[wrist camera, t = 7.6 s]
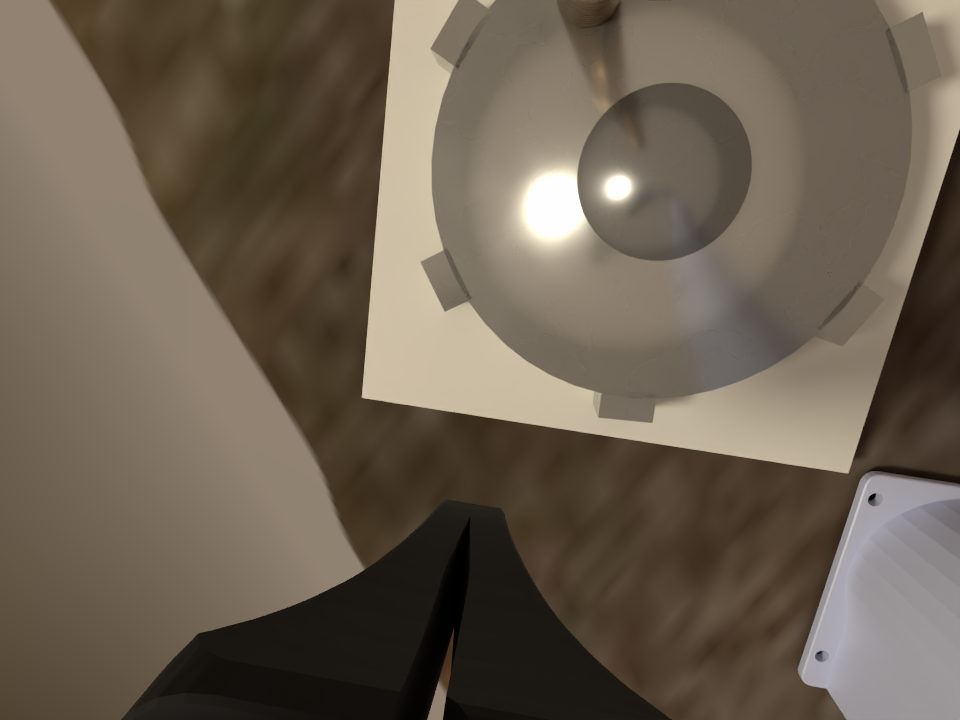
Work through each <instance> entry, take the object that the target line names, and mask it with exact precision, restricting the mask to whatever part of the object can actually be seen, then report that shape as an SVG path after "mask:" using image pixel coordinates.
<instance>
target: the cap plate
mask: <svg viewBox="0 0 960 720" xmlns="http://www.w3.org/2000/svg"><path fill="white" fill-rule="evenodd" d="M477 1H478V2H480V3H481V4H483V5H484V6H485V7H487V8H489V7H490V6H491V5H492V4H493V3H494V1H495V0H477ZM874 1H875V2H876V4H877V6H878V8H879V9H880V11H881V13H882V15H883V16H884V18H885V20H886V22H887V23H888V25H889V27H890V28H891V27H893V26H895V25H897V24H899V23H901V22H903V21H905V20H907V19H909V18H911V17H913V16H915V15H917V14H919V13H921V12H923V15H924V18H925V22H926V25H927V28H928V32H929V35H930V39H931V42H932V45H933V49H934V52H935V56H936V59H937V62H938V66H939V69H940V73H941V77H939V78H937V79H934V80H932V81H930V82H928V83H926V84H924V85H922V86H920V87H918V88H916V89H913V90H911V91H909V92H910V103H911V115H912V143H911V160H910V166H909V171H908V177H907V182H906V188H905V193H904V196H903V199H902V202H901V206H900V209H899V212H898V215H897V218H896V221H895V224H894V227H893V229H892V231H891V233H890V235H889V238H888V240H887V242H886V244H885V246H884V249H883V251H882V253H881V255H880V257H879V258H878V260H877V262H876V263H875V265H874V267H873V268H872V270H871V271H870V273H869V275H868V276H867V278H866V280H865V281H864V283H863V284H864V285H866V286H867V287H869V288H870V289H871V290H873V291H874V292H875V293H877V294H878V295H879V296H881V297H882V298H884V299H885V300H884V301H883V302H882V303H881V305H880V306H879V307H878V308H877V309H876V310H875V311H874V312H873V313H872V315H871V316H870V317H869V318H868V319H867V320H866V321H865V322H864V323H863V324H862V326H861V327H860V328H859V329H858V330H857V331H856V332H855V333H854V334H853V336H852V337H851V338H850V339H849V340H848V341H847V342H846V343H845V344H844V346H843V347H842V346H839V345H836V344H834V343H831V342H828V341H825V340H822V339H819V338H817V337H816V336H814V337H813V338H812V339H811V340H809V341H808V342H807V343H806V344H804V345H803V346H802V347H801V348H799V349H798V350H797V351H795V352H794V353H792V354H791V355H789V356H787V357H786V358H784V359H783V360H781V361H779V362H778V363H776V364H775V365H773V366H771V367H770V368H768V369H766V370H763V371H761V372H759V373H757V374H755V375H753V376H751V377H749V378H747V379H745V380H742V381H739V382H737V383H734V384H731V385H728V386H725V387H722V388H719V389H716V390H712V391H707V392H703V393H698V394H693V395H688V396H681V397H670V398H659V399H656V404H655V410H654V417H653V423H647V422H637V421H626V420H616V419H606V418H598V416H597V413H596V411H595V408H594V406H593V399H594V392H595V391H591V390H588V389H585V388H581V387H578V386H574V385H572V384H570V383H567V382H565V381H563V380H561V379H558V378H556V377H554V376H551V375H549V374H547V373H546V372H544V371H542V370H541V369H539V368H537V367H536V366H534V365H532V364H531V363H529V362H527V361H526V360H525V359H523V358H522V357H521V356H519V355H518V354H517V353H516V352H514V351H513V350H512V349H511V348H509V347H508V346H507V345H506V344H504V343H503V342H502V341H501V340H500V339H499V338H498V337H497V336H496V334H495V333H494V332H493V331H492V330H491V329H490V328H489V327H488V326H487V325H486V324H485V323H484V322H483V320H482V319H481V318H480V316H479V315H478V314H477V312H476V311H475V310H474V308H473V307H472V306H471V304H470V303H469V302H468V301H467V302H465V303H463V304H460V305H458V306H456V307H454V308H452V309H450V310H448V311H446V312H444V309H443V307H442V305H441V303H440V301H439V299H438V297H437V295H436V293H435V291H434V289H433V287H432V285H431V283H430V281H429V279H428V277H427V275H426V273H425V271H424V269H423V267H422V265H421V263H420V262H421V261H423V260H425V259H427V258H429V257H431V256H433V255H435V254H437V253H439V252H441V251H443V246H442V243H441V239H440V235H439V231H438V228H437V224H436V219H435V211H434V204H433V197H432V166H431V160H432V151H433V142H434V133H435V127H436V123H437V118H438V114H439V110H440V106H441V101H442V97H443V95H444V92H445V89H446V87H447V84H448V81H449V78H450V76H451V73H449V72H448V71H447V70H445V69H444V68H442V67H441V66H440V65H438V63H437V61H436V59H435V57H434V55H433V53H432V51H431V49H430V48H431V47H432V45H433V43H434V41H435V40H436V38H437V36H438V35H439V33H440V31H441V29H442V28H443V26H444V24H445V22H446V21H447V19H448V17H449V16H450V14H451V12H452V10H453V9H454V7H455V5H456V3H457V2H458V0H395V6H394V18H393V30H392V42H391V54H390V66H389V78H388V90H387V102H386V114H385V126H384V138H383V150H382V163H381V175H380V187H379V199H378V211H377V223H376V235H375V247H374V259H373V271H372V283H371V295H370V307H369V319H368V331H367V343H366V355H365V367H364V379H363V391H362V398H367V399H373V400H380V401H386V402H392V403H399V404H405V405H412V406H418V407H425V408H431V409H437V410H444V411H450V412H457V413H463V414H470V415H476V416H482V417H489V418H495V419H502V420H508V421H515V422H521V423H527V424H534V425H540V426H547V427H553V428H560V429H566V430H572V431H579V432H585V433H592V434H598V435H604V436H611V437H617V438H624V439H630V440H637V441H643V442H649V443H656V444H662V445H669V446H675V447H682V448H688V449H694V450H701V451H707V452H714V453H720V454H727V455H733V456H739V457H746V458H752V459H759V460H765V461H772V462H778V463H784V464H791V465H797V466H804V467H810V468H816V469H823V470H829V471H836V472H842V473H849V470H850V466H851V463H852V460H853V457H854V454H855V451H856V448H857V445H858V442H859V439H860V436H861V432H862V429H863V426H864V423H865V420H866V417H867V414H868V411H869V408H870V405H871V402H872V398H873V395H874V392H875V389H876V386H877V383H878V380H879V377H880V374H881V371H882V368H883V364H884V361H885V358H886V355H887V352H888V349H889V346H890V343H891V340H892V337H893V334H894V330H895V327H896V324H897V321H898V318H899V315H900V312H901V309H902V306H903V303H904V300H905V296H906V293H907V290H908V287H909V284H910V281H911V278H912V275H913V272H914V269H915V266H916V262H917V259H918V256H919V253H920V250H921V247H922V244H923V241H924V238H925V235H926V232H927V228H928V225H929V222H930V219H931V216H932V213H933V210H934V207H935V204H936V201H937V198H938V194H939V191H940V188H941V185H942V182H943V179H944V176H945V173H946V170H947V167H948V164H949V160H950V157H951V154H952V151H953V148H954V145H955V142H956V139H957V136H958V133H959V130H960V0H874Z"/></svg>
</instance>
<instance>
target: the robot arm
mask: <svg viewBox="0 0 960 720" xmlns="http://www.w3.org/2000/svg"><path fill="white" fill-rule="evenodd" d="M874 493H876V497H875V498H874V499H873V500H871V501H868V498H869V496H870V495H872V494H874ZM453 629H454V638H453V651H452V665H451V676H450V681H449V686H448V691H447V695H446V703H445V709H444V716H443V720H671V719H670V718H669V717H667V716H666V715H665V714H663V713H662V712H661V711H659V710H658V709H657V708H655V707H654V706H652V705H651V704H650V703H648V702H647V701H646V700H644V699H643V698H642V697H640V696H639V695H638V694H636V693H635V692H634V691H632V690H631V689H630V688H628V687H627V686H626V685H625V684H623V683H622V682H621V681H620V680H619V679H618V678H616V677H615V676H614V675H613V674H612V673H611V672H610V671H609V670H607V669H606V668H605V667H604V666H603V665H602V664H601V663H599V662H598V661H597V660H596V659H595V658H594V657H593V656H592V655H591V654H590V653H589V652H588V651H587V650H586V649H585V648H584V647H583V646H582V645H581V644H580V642H579V641H578V640H577V639H576V638H575V637H574V636H573V635H572V634H571V633H570V632H569V631H568V629H567V628H566V627H565V626H564V625H563V624H562V622H561V621H560V620H559V619H558V617H557V616H556V615H555V613H554V612H553V611H552V609H551V608H550V607H549V605H548V604H547V602H546V601H545V599H544V598H543V596H542V595H541V593H540V592H539V590H538V588H537V587H536V585H535V583H534V582H533V580H532V578H531V577H530V575H529V573H528V571H527V569H526V567H525V565H524V563H523V561H522V559H521V557H520V555H519V553H518V551H517V549H516V547H515V544H514V542H513V540H512V537H511V535H510V532H509V529H508V526H507V523H506V519H505V514H504V513H503V511H502V510H501V509H500V508H495V507H489V506H483V505H477V504H470V503H464V502H458V501H452V500H445V501H444V502H442V503H441V504H440V505H439V506H438V507H437V509H436V510H435V511H434V512H433V513H432V514H431V515H430V516H429V517H428V518H427V519H426V520H425V521H424V522H423V523H422V524H421V525H420V526H419V527H418V528H417V529H416V530H415V531H414V532H412V533H411V534H410V535H409V536H408V537H407V538H406V539H405V540H404V541H402V542H401V543H400V544H399V545H398V546H396V547H395V548H394V549H392V550H391V551H390V552H389V553H387V554H386V555H385V556H383V557H382V558H381V559H380V560H378V561H377V562H375V563H374V564H373V565H371V566H370V567H368V568H367V569H365V570H364V571H362V572H361V573H359V574H357V575H356V576H354V577H353V578H351V579H349V580H347V581H345V582H343V583H341V584H339V585H337V586H335V587H333V588H331V589H329V590H327V591H325V592H323V593H321V594H319V595H317V596H315V597H313V598H310V599H308V600H306V601H303V602H301V603H298V604H296V605H293V606H291V607H288V608H285V609H282V610H280V611H277V612H274V613H271V614H268V615H265V616H262V617H259V618H256V619H253V620H249V621H245V622H242V623H238V624H234V625H230V626H227V627H223V628H219V629H216V630H212V631H207V632H203V633H199V634H197V635H196V636H195V638H194V639H193V640H192V641H191V642H190V643H189V644H188V645H187V646H186V647H185V648H184V649H183V650H182V651H181V652H180V653H179V654H178V655H177V656H176V657H175V658H174V659H173V660H172V661H171V662H170V663H169V664H168V665H167V666H166V668H165V669H164V670H163V671H162V672H161V673H160V674H159V675H158V677H157V678H156V679H155V680H154V681H153V683H152V684H151V685H150V686H149V687H148V689H147V690H146V691H145V692H144V693H143V695H142V696H141V697H140V698H139V699H138V700H137V702H136V703H135V704H134V705H133V706H132V708H131V709H130V710H129V711H128V712H127V714H126V715H125V716H124V717H123V718H122V720H427V718H428V715H429V711H430V708H431V705H432V701H433V698H434V694H435V691H436V687H437V684H438V681H439V677H440V674H441V670H442V667H443V664H444V660H445V657H446V653H447V650H448V646H449V643H450V639H451V636H452V632H453ZM819 651H823V652H822V653H820V654H816V653H817V652H819ZM798 673H799V675H800V677H801V679H802V680H803V682H804V683H806V684H807V685H810V686H815V687H820V688H826V689H827V690H828V692H829V693H830V695H831V696H832V698H833V699H834V701H835V702H836V704H837V706H838V707H839V709H840V710H841V712H842V713H843V715H844V716H845V718H846V719H847V720H960V484H957V483H951V482H945V481H938V480H932V479H925V478H919V477H912V476H906V475H899V474H893V473H886V472H880V471H871V472H869V473H866V474H865V475H864V476H863V477H862V478H861V480H860V483H859V486H858V489H857V492H856V495H855V498H854V501H853V504H852V507H851V510H850V513H849V516H848V519H847V522H846V525H845V528H844V531H843V534H842V537H841V540H840V543H839V546H838V549H837V552H836V555H835V558H834V561H833V564H832V567H831V570H830V573H829V576H828V579H827V582H826V585H825V588H824V591H823V594H822V598H821V601H820V604H819V607H818V610H817V613H816V616H815V619H814V622H813V625H812V628H811V631H810V634H809V637H808V640H807V643H806V646H805V649H804V652H803V655H802V658H801V661H800V664H799V667H798Z"/></svg>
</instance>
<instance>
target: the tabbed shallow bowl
mask: <svg viewBox="0 0 960 720" xmlns="http://www.w3.org/2000/svg"><path fill="white" fill-rule="evenodd" d="M430 49H431V51H432V53H433V55H434V57H435V59H436V61H437V63H438V65H440V66H441V67H442V68H444V69H445V70H447V71H448V72H449V73H451V76H450V78H449V81H448V84H447V87H446V89H445V92H444V95H443V97H442V101H441V106H440V110H439V114H438V118H437V123H436V127H435V133H434V142H433V151H432V160H431V166H432V197H433V204H434V211H435V219H436V224H437V228H438V231H439V235H440V239H441V243H442V246H443V251H441V252H439V253H437V254H435V255H433V256H431V257H429V258H427V259H425V260H423V261H421V262H420V263H421V265H422V267H423V269H424V271H425V273H426V275H427V277H428V279H429V281H430V283H431V285H432V287H433V289H434V291H435V293H436V295H437V297H438V299H439V301H440V303H441V305H442V307H443V309H444V312H446V311H448V310H450V309H452V308H454V307H456V306H458V305H460V304H463V303H465V302H467V301H468V302H469V303H470V304H471V306H472V307H473V308H474V310H475V311H476V312H477V314H478V315H479V316H480V318H481V319H482V320H483V322H484V323H485V324H486V325H487V326H488V327H489V328H490V329H491V330H492V331H493V332H494V333H495V334H496V336H497V337H498V338H499V339H500V340H501V341H502V342H503V343H504V344H506V345H507V346H508V347H509V348H511V349H512V350H513V351H514V352H516V353H517V354H518V355H519V356H521V357H522V358H523V359H525V360H526V361H527V362H529V363H531V364H532V365H534V366H536V367H537V368H539V369H541V370H542V371H544V372H546V373H547V374H549V375H551V376H554V377H556V378H558V379H561V380H563V381H565V382H567V383H570V384H572V385H574V386H578V387H581V388H585V389H588V390H591V391H595V392H594V399H593V406H594V408H595V411H596V413H597V416H598V418H606V419H616V420H626V421H637V422H647V423H653V417H654V410H655V404H656V399H659V398H670V397H681V396H688V395H693V394H698V393H703V392H707V391H712V390H716V389H719V388H722V387H725V386H728V385H731V384H734V383H737V382H739V381H742V380H745V379H747V378H749V377H751V376H753V375H755V374H757V373H759V372H761V371H763V370H766V369H768V368H770V367H771V366H773V365H775V364H776V363H778V362H779V361H781V360H783V359H784V358H786V357H787V356H789V355H791V354H792V353H794V352H795V351H797V350H798V349H799V348H801V347H802V346H803V345H804V344H806V343H807V342H808V341H809V340H811V339H812V338H813V337H814V336H816V337H817V338H819V339H822V340H825V341H828V342H831V343H834V344H836V345H839V346H842V347H843V346H844V344H845V343H846V342H847V341H848V340H849V339H850V338H851V337H852V336H853V334H854V333H855V332H856V331H857V330H858V329H859V328H860V327H861V326H862V324H863V323H864V322H865V321H866V320H867V319H868V318H869V317H870V316H871V315H872V313H873V312H874V311H875V310H876V309H877V308H878V307H879V306H880V305H881V303H882V302H883V301H884V300H885V299H884V298H882V297H881V296H879V295H878V294H877V293H875V292H874V291H873V290H871V289H870V288H869V287H867V286H866V285H864V284H863V283H864V281H865V280H866V278H867V276H868V275H869V273H870V271H871V270H872V268H873V267H874V265H875V263H876V262H877V260H878V258H879V257H880V255H881V253H882V251H883V249H884V246H885V244H886V242H887V240H888V238H889V235H890V233H891V231H892V229H893V227H894V224H895V221H896V218H897V215H898V212H899V209H900V206H901V202H902V199H903V196H904V193H905V188H906V182H907V177H908V171H909V166H910V160H911V143H912V115H911V103H910V92H909V91H911V90H913V89H916V88H918V87H920V86H922V85H924V84H926V83H928V82H930V81H932V80H934V79H937V78H939V77H941V73H940V69H939V66H938V62H937V59H936V56H935V52H934V49H933V45H932V42H931V39H930V35H929V32H928V28H927V25H926V22H925V18H924V15H923V12H921V13H919V14H917V15H915V16H913V17H911V18H909V19H907V20H905V21H903V22H901V23H899V24H897V25H895V26H893V27H891V28H890V27H889V25H888V23H887V22H886V20H885V18H884V16H883V15H882V13H881V11H880V9H879V8H878V6H877V4H876V2H875V1H874V0H495V1H494V3H493V4H492V5H491V6H490V7H489V8H487V7H485V6H484V5H483V4H481V3H480V2H478V1H477V0H458V2H457V3H456V5H455V7H454V9H453V10H452V12H451V14H450V16H449V17H448V19H447V21H446V22H445V24H444V26H443V28H442V29H441V31H440V33H439V35H438V36H437V38H436V40H435V41H434V43H433V45H432V47H431V48H430Z"/></svg>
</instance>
